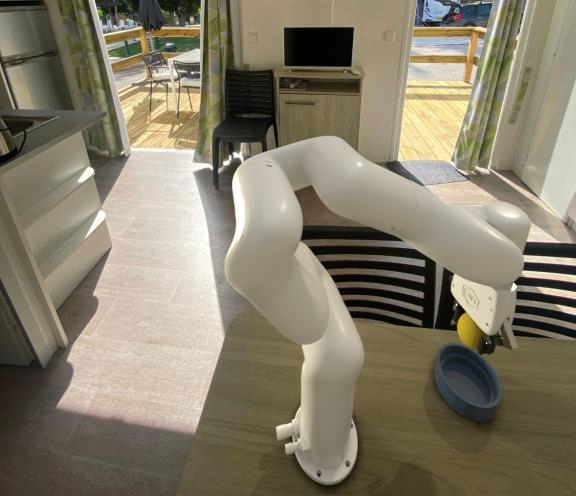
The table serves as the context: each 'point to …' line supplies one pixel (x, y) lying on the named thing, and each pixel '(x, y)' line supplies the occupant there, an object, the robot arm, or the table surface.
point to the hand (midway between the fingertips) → (472, 334)
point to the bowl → (467, 382)
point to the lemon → (469, 331)
